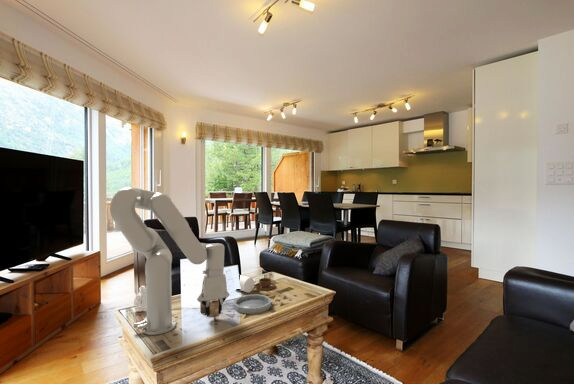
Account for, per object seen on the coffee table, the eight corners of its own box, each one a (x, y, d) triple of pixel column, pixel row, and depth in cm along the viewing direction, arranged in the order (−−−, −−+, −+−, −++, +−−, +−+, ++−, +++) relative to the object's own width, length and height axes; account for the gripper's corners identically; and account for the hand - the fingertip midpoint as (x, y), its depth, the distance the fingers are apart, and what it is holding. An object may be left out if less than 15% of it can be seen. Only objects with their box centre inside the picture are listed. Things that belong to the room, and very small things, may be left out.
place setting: (283, 288, 168) (283, 278, 168) (259, 298, 152) (259, 287, 152) (261, 282, 179) (261, 273, 179) (237, 291, 163) (236, 281, 163)
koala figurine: (152, 311, 136) (152, 285, 136) (136, 315, 132) (136, 288, 132) (148, 305, 143) (147, 281, 143) (132, 309, 139) (132, 284, 139)
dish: (243, 317, 129) (243, 311, 129) (227, 304, 144) (227, 299, 144) (277, 307, 139) (277, 302, 139) (259, 296, 154) (259, 292, 154)
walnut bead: (202, 314, 132) (202, 301, 132) (199, 311, 136) (198, 298, 136) (212, 312, 135) (211, 299, 135) (208, 308, 139) (208, 296, 139)
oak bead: (209, 318, 123) (210, 303, 123) (206, 314, 127) (206, 300, 127) (220, 315, 126) (220, 301, 126) (216, 312, 130) (216, 298, 130)
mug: (244, 294, 158) (244, 279, 158) (232, 290, 164) (231, 276, 164) (259, 288, 167) (259, 274, 167) (247, 285, 173) (247, 271, 173)
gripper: (198, 276, 119) (196, 321, 119) (236, 271, 128) (234, 313, 128) (192, 272, 125) (191, 314, 125) (229, 268, 135) (227, 307, 134)
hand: (213, 313), depth 127 cm, fingers closed on oak bead, 4 cm apart
